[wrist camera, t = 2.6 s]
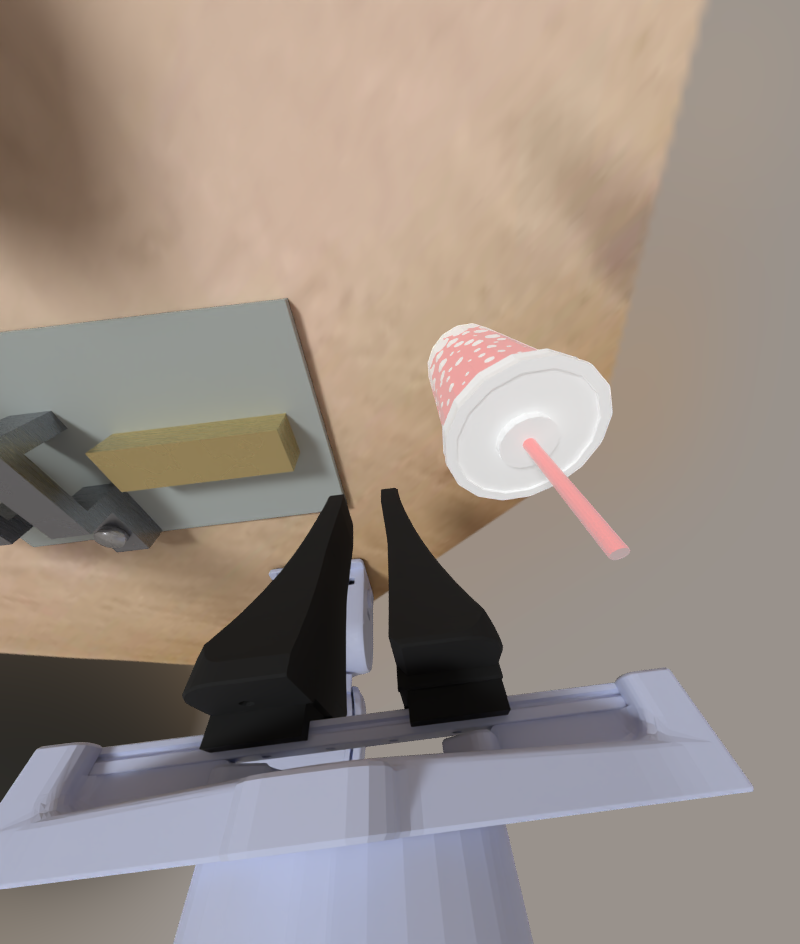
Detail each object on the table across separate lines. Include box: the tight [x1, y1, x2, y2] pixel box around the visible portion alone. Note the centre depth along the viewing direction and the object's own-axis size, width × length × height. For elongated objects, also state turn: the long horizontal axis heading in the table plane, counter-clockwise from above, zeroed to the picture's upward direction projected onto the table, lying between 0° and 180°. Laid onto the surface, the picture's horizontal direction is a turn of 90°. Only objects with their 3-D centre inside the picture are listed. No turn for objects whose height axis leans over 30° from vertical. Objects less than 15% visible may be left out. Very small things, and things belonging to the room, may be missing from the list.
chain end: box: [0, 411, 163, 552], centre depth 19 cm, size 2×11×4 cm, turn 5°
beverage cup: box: [428, 323, 630, 560], centre depth 12 cm, size 6×6×14 cm
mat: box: [0, 298, 347, 547], centre depth 19 cm, size 26×15×1 cm, turn 95°
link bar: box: [85, 413, 300, 492], centre depth 18 cm, size 11×3×2 cm, turn 95°
